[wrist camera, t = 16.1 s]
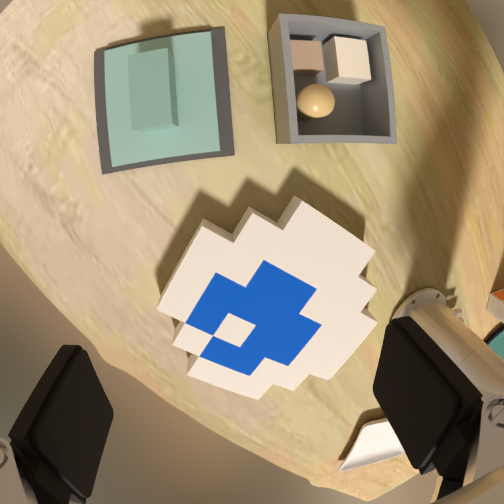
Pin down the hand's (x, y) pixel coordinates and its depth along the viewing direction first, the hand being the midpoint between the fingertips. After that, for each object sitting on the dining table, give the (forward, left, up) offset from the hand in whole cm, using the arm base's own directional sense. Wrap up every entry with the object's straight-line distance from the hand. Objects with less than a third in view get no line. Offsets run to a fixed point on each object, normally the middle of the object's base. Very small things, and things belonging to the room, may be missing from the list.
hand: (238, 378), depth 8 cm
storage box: (-13, -13, -29) cm, 34 cm away
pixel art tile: (-6, +15, -30) cm, 34 cm away
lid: (+6, -13, -29) cm, 32 cm away
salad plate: (-32, +59, -30) cm, 73 cm away
